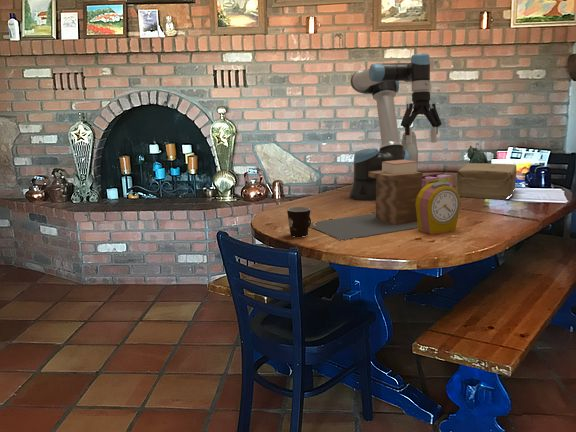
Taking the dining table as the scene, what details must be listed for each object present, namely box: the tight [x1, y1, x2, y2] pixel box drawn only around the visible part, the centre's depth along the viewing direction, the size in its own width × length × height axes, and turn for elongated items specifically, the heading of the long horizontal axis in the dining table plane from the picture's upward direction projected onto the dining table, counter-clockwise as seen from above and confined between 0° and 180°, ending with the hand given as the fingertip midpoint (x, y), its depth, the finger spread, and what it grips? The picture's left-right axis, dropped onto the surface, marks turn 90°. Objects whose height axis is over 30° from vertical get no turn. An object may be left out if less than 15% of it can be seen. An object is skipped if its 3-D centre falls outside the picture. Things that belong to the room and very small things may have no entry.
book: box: [382, 160, 418, 174], centre depth 226 cm, size 8×11×4 cm
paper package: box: [456, 162, 517, 201], centre depth 280 cm, size 27×26×14 cm
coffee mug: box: [286, 206, 312, 238], centre depth 208 cm, size 12×9×10 cm
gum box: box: [422, 172, 454, 188], centre depth 255 cm, size 24×8×14 cm, turn 124°
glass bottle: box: [401, 131, 419, 168], centre depth 318 cm, size 10×10×28 cm
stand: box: [368, 170, 424, 225], centre depth 228 cm, size 14×16×20 cm
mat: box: [310, 212, 418, 241], centre depth 225 cm, size 28×44×1 cm, turn 117°
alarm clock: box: [415, 182, 462, 235], centre depth 213 cm, size 15×8×18 cm, turn 114°
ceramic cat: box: [466, 143, 489, 164], centre depth 323 cm, size 20×6×20 cm, turn 6°
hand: (421, 143), depth 240 cm, fingers open, 13 cm apart
